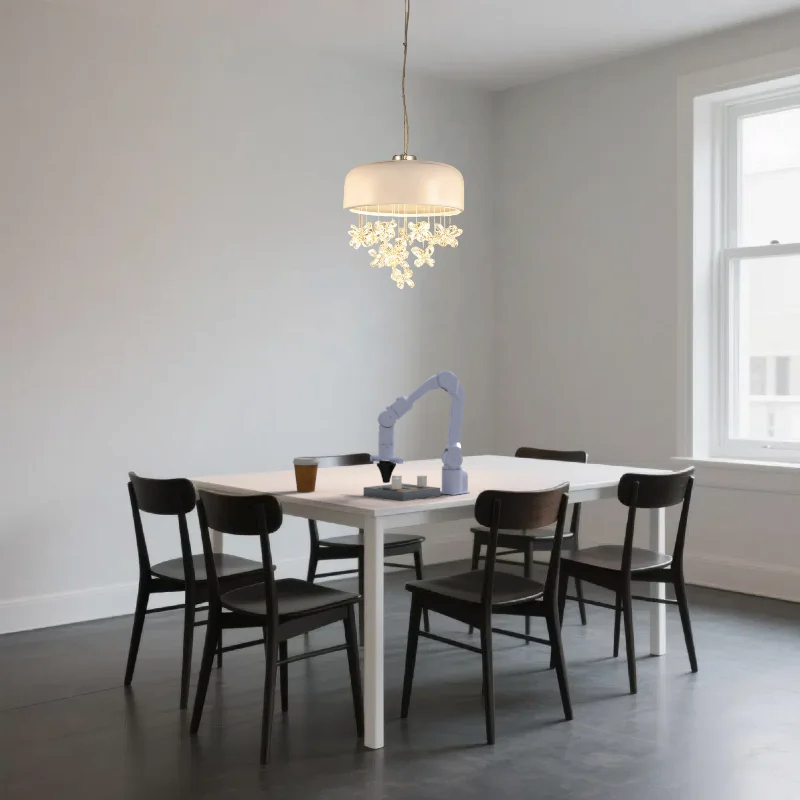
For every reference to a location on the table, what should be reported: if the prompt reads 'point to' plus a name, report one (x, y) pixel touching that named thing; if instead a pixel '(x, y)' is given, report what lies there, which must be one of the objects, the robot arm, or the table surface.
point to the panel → (402, 492)
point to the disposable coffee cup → (305, 473)
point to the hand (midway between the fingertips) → (386, 482)
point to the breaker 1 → (396, 483)
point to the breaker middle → (397, 477)
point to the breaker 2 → (421, 480)
